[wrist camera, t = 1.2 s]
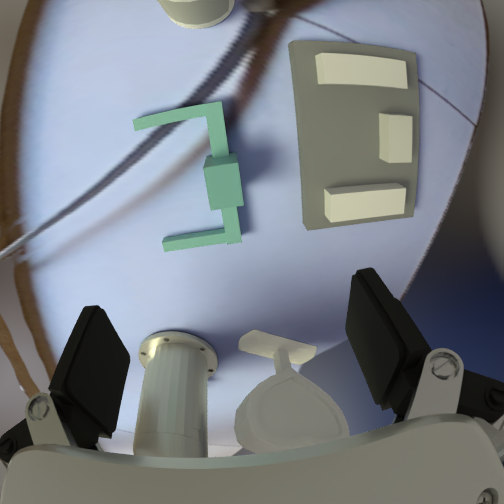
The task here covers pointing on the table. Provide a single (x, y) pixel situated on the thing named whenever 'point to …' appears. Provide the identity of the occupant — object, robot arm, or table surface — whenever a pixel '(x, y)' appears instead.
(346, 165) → the stand
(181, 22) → the white bottle
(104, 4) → the table surface
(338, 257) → the table surface
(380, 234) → the table surface
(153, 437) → the robot arm
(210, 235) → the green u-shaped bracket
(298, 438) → the heart sculpture
